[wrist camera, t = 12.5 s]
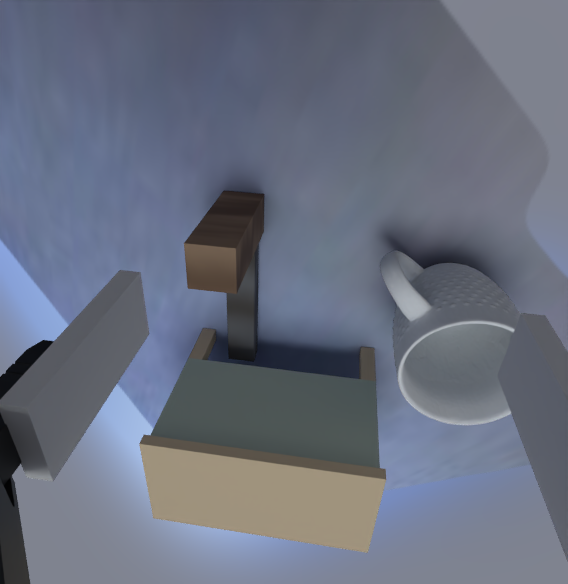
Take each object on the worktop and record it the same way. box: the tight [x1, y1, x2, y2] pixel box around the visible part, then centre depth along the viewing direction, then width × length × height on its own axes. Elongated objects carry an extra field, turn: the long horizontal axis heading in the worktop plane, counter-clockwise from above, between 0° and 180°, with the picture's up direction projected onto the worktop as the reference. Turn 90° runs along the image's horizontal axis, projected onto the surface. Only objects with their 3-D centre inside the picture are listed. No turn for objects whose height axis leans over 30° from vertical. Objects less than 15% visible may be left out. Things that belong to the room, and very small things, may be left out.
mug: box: [380, 251, 520, 425], centre depth 41 cm, size 15×11×13 cm
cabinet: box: [140, 328, 386, 552], centre depth 48 cm, size 12×21×18 cm, turn 88°
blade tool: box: [184, 191, 264, 362], centre depth 45 cm, size 20×4×12 cm, turn 178°
